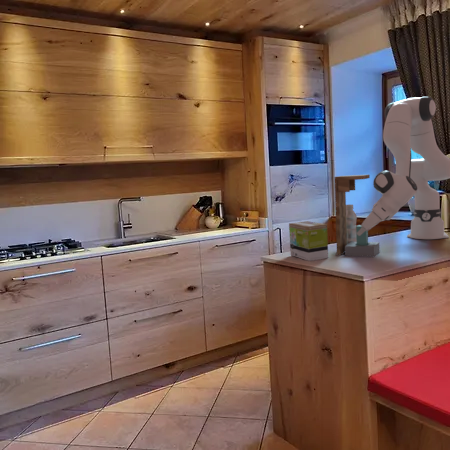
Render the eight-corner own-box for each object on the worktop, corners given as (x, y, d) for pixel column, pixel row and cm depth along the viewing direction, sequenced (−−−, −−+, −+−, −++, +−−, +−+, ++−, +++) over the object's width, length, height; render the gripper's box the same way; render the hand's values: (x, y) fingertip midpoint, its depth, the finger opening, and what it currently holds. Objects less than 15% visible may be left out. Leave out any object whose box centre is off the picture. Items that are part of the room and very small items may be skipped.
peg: (358, 252, 200) (358, 225, 198) (368, 252, 198) (367, 225, 196) (356, 254, 196) (356, 226, 195) (366, 254, 194) (365, 226, 193)
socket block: (351, 250, 205) (351, 241, 204) (379, 251, 199) (379, 242, 199) (345, 255, 194) (344, 246, 194) (374, 256, 189) (374, 247, 188)
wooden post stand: (343, 250, 206) (341, 175, 203) (371, 251, 201) (369, 174, 197) (336, 255, 196) (334, 176, 192) (365, 256, 190) (363, 175, 186)
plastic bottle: (358, 249, 207) (357, 205, 205) (343, 249, 209) (341, 205, 206) (357, 246, 213) (356, 203, 211) (342, 246, 215) (341, 204, 212)
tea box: (289, 256, 201) (288, 222, 199) (308, 253, 205) (307, 220, 203) (308, 261, 187) (307, 225, 185) (329, 258, 191) (328, 223, 189)
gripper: (382, 202, 200) (360, 224, 206) (373, 207, 182) (349, 231, 188) (393, 212, 198) (370, 234, 204) (385, 218, 181) (360, 242, 186)
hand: (360, 233), depth 196 cm, fingers open, 8 cm apart
